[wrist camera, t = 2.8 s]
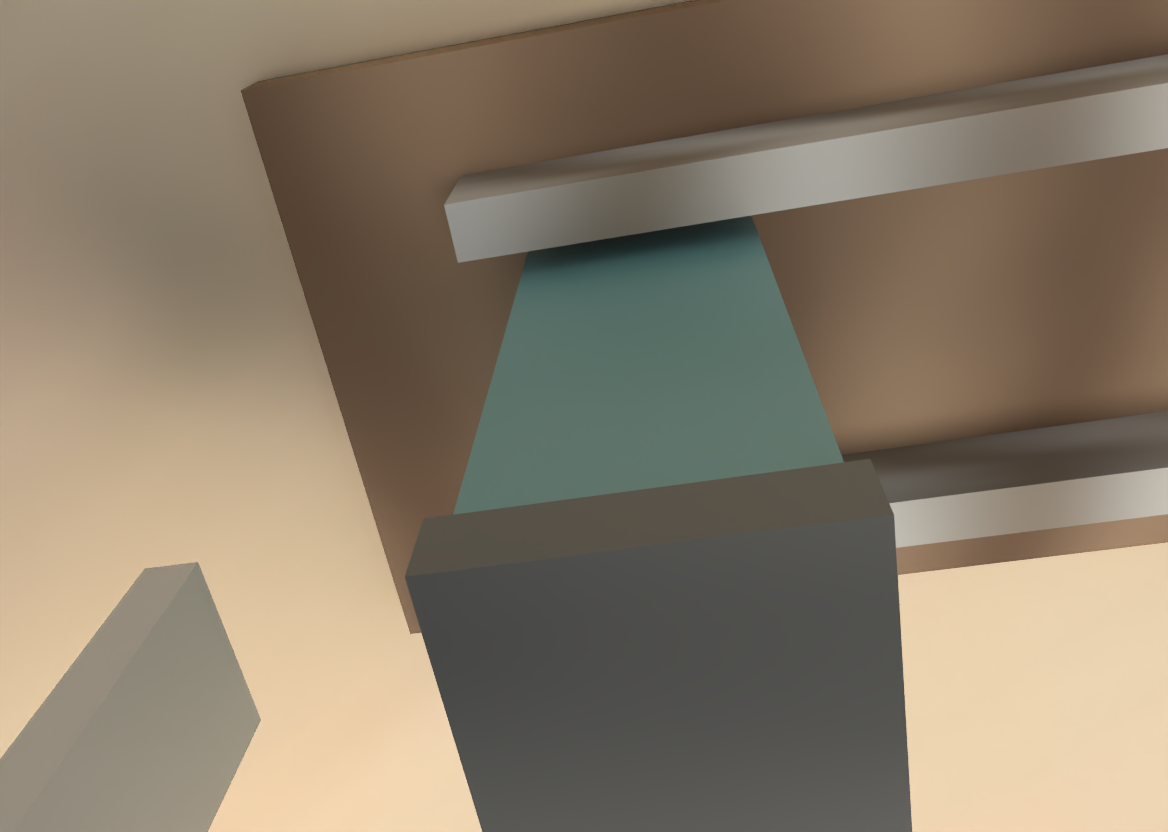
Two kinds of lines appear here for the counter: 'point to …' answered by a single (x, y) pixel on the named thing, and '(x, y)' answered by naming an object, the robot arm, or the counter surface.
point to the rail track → (775, 238)
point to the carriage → (665, 562)
